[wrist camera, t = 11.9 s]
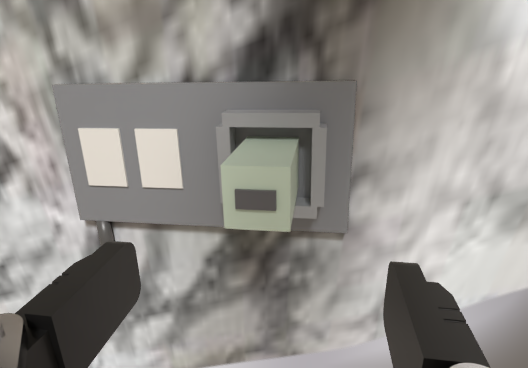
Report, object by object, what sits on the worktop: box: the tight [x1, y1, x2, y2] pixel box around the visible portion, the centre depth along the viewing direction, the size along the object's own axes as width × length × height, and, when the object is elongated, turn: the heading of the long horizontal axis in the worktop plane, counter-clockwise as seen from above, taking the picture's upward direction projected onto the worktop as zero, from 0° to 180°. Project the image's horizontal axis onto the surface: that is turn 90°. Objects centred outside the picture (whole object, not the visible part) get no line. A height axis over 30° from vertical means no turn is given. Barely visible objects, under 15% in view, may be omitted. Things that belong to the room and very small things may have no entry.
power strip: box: [52, 80, 357, 246], centre depth 29 cm, size 16×24×3 cm, turn 91°
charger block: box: [221, 136, 299, 232], centre depth 24 cm, size 4×4×8 cm
